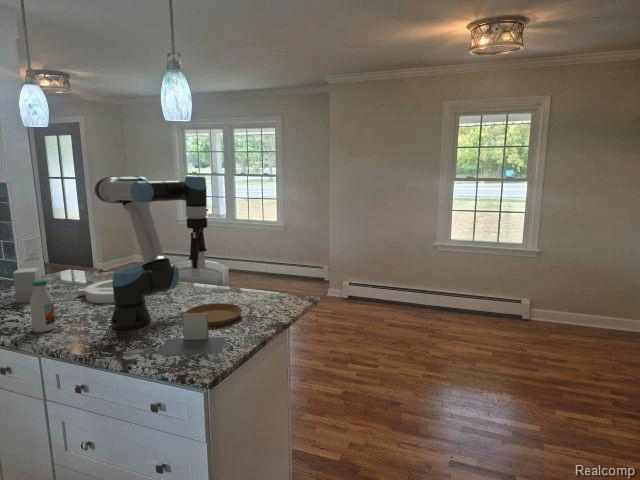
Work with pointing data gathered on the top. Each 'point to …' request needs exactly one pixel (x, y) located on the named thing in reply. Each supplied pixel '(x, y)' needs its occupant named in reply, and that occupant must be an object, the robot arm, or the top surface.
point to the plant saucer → (217, 313)
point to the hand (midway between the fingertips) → (198, 272)
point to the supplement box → (25, 283)
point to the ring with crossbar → (99, 292)
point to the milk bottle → (42, 308)
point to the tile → (195, 326)
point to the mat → (192, 346)
